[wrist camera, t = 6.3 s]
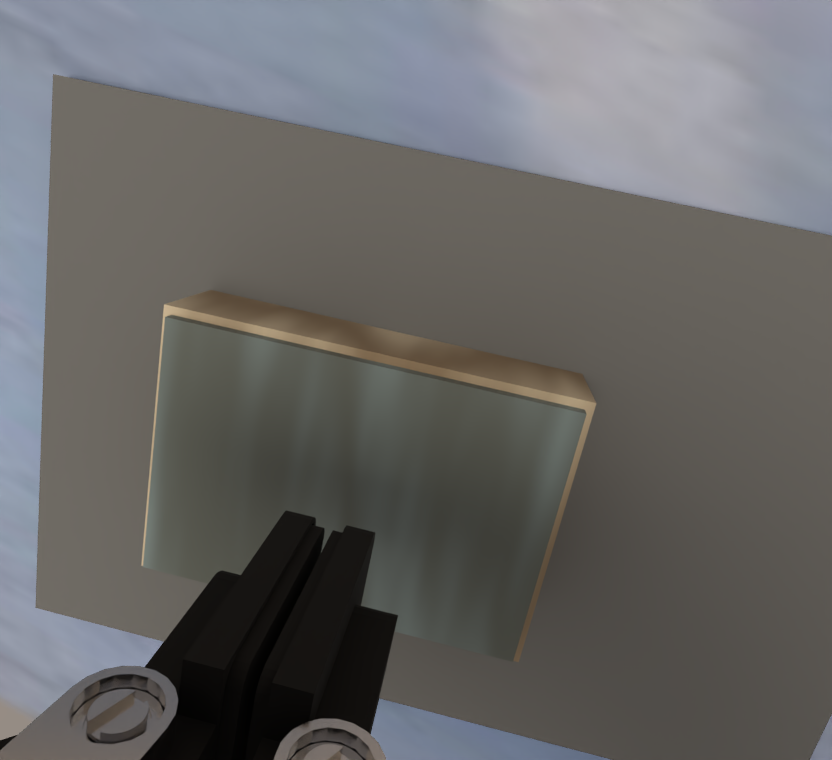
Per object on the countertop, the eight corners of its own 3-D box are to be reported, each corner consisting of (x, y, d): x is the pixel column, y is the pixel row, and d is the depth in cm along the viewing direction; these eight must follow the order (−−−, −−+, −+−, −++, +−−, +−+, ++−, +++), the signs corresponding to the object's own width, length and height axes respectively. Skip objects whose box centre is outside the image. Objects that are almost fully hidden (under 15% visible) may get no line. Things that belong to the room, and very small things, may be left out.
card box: (598, 407, 14) (157, 306, 14) (519, 670, 16) (134, 571, 16) (582, 373, 16) (210, 289, 17) (516, 602, 18) (185, 519, 19)
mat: (1022, 277, 15) (1043, 279, 15) (778, 787, 20) (786, 805, 19) (68, 78, 17) (53, 74, 16) (48, 596, 21) (35, 607, 21)
